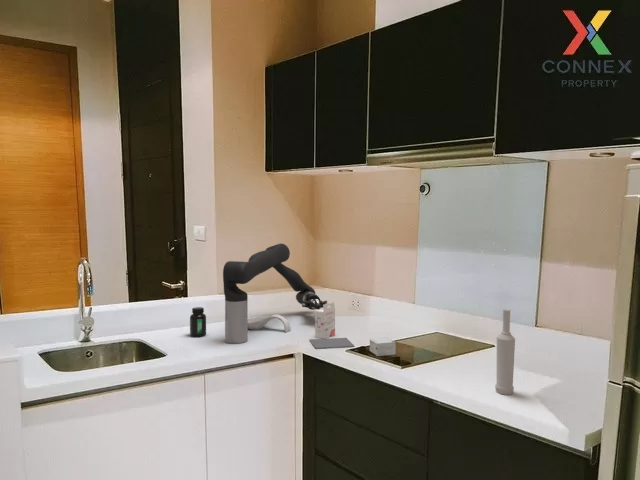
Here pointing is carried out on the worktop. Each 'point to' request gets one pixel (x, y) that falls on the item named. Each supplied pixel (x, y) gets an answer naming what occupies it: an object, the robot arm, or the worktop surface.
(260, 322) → the grey arched piece
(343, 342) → the mat
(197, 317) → the supplement bottle
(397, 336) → the worktop surface
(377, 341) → the small box
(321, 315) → the ink cartridge box
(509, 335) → the bottle
